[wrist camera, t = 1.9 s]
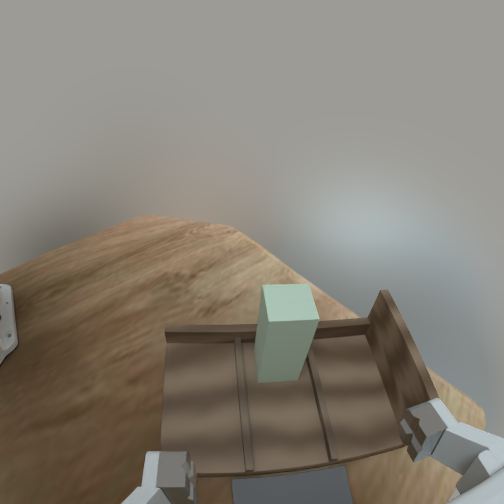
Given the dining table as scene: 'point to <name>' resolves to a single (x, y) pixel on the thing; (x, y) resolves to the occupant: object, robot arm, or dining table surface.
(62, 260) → the dining table surface
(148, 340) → the dining table surface
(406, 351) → the lane shelf
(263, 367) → the block
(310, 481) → the mat
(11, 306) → the robot arm
